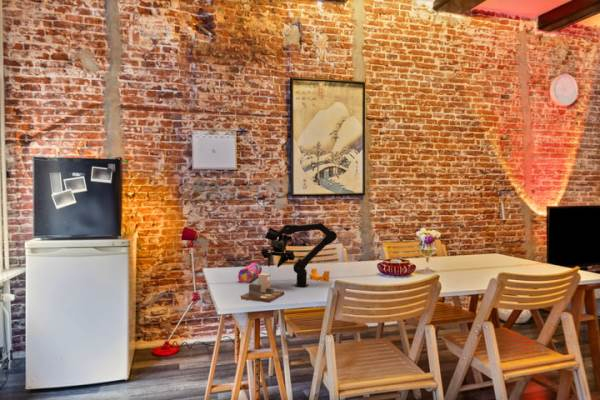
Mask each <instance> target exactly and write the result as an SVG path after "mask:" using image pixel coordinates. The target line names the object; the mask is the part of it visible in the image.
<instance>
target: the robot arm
mask: <svg viewBox="0 0 600 400" xmlns="http://www.w3.org/2000/svg"><path fill="white" fill-rule="evenodd" d="M267 230H268V231H267V232H266V234H265V236H264V239H266V240H268V241H271V242H270V247H271V250H270V249H269V248H261V250H260V253H261V255H262V257H263V258H264V259H267V266H268V267H270V266H271V265H272V263H273V260H274V258H273V256H275V257H279V260H278V261H277V265H276V267H277V268H279V267H281V266H282V265H283V264H284V263H286V262H288V261H294V260H295V257H296V256H295V253H294V251H293V250H288V249H287V245H288V243H292V240H293V237H292V236H291V235H292V234H296V233H299V232H310V231H317V230H319V231H320V232H321V233H323V234H324V235H323V237H322V239H321V240H320V241H319V242H318V243H316V245H315V246H314V247H313V248H312V249H311V250H310V251H308V252H307V254H305V256H303V257H302V258H301V257H300V256H299V257H298V258H297V259H296V260H295V261H294V263H293V271H294V273H296V284H294V287H297V288H298V287H299V288H306V287H308V286H309V284H308V283H307V279H308V277H307V276H308V271H307V269H306V267H307V265H308V264H309V263H310V262H311V261H312V260H313V259H314V258H315V257H316V256H317V255H318V254H319V253H320V252H321V251H322V250H323V249H324V248H325V247H327V246H328V245H330V244H331V243H332V242H335V241H336V240H337V237H338V235H337V232H336V231H334V230H332V229H329V228H328V227H327V226H326V225H324V224H323V223H322V222H313V223H304V224H293V223H285V224H284V225H283V227H282V228H280V229H279V230H278V229H275V228H273V227H270V226H269V228H268V229H267Z"/></svg>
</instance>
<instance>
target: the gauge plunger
mask: <svg viewBox="0 0 600 400" xmlns="http://www.w3.org/2000/svg"><path fill="white" fill-rule="evenodd" d="M257 284H260V285H261V292H264V293H266V288H269V285H270V286H271V273H263V272H261V274H258V276H257ZM272 289H273V288H272ZM273 293H274V289H273Z"/></svg>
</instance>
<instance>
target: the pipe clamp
mask: <svg viewBox="0 0 600 400" xmlns="http://www.w3.org/2000/svg"><path fill="white" fill-rule="evenodd" d="M310 269H311V271H310V272H311V273H310V274H308V276H309V278H308V279H309V280H310V279H311V280H310V281H315V280H316V282H319V280H320V281H321V282H326V283H327V282H330V270H324V271H323V274H322V275H320V274H319V273H318V271H317V268H310Z"/></svg>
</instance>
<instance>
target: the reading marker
mask: <svg viewBox="0 0 600 400" xmlns="http://www.w3.org/2000/svg"><path fill="white" fill-rule="evenodd" d="M266 293H268V294H272V293H273V288H271V284H270V285H269V288H266Z"/></svg>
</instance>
